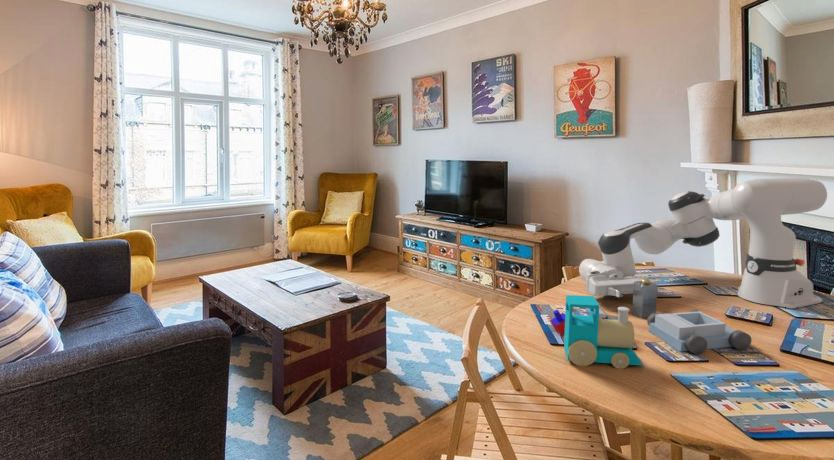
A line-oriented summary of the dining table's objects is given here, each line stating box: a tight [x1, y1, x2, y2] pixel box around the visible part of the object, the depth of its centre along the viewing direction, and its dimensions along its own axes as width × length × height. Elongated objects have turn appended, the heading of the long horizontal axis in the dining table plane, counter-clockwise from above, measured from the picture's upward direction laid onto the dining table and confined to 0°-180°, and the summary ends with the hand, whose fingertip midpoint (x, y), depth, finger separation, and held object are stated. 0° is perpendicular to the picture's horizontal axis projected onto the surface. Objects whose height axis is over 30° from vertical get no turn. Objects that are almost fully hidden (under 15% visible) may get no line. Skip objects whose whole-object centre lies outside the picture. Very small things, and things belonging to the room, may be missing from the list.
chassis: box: [646, 309, 752, 355], centre depth 113 cm, size 18×16×6 cm
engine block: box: [631, 278, 659, 319], centre depth 129 cm, size 4×4×11 cm
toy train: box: [563, 294, 644, 370], centre depth 102 cm, size 8×17×15 cm, turn 78°
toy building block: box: [550, 309, 565, 336], centre depth 119 cm, size 4×4×8 cm
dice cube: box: [599, 312, 618, 320], centre depth 117 cm, size 5×5×5 cm
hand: (635, 293), depth 132 cm, fingers open, 8 cm apart
